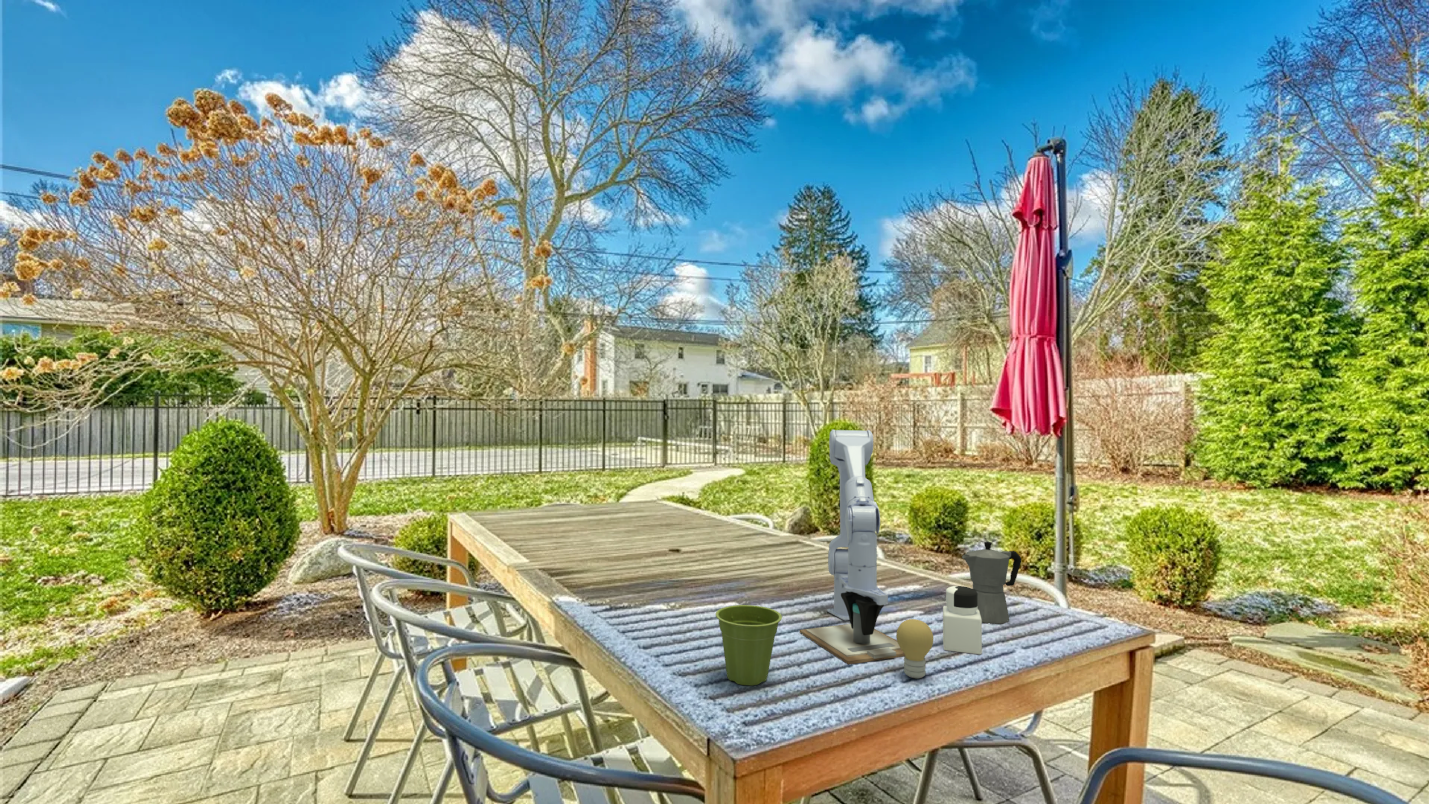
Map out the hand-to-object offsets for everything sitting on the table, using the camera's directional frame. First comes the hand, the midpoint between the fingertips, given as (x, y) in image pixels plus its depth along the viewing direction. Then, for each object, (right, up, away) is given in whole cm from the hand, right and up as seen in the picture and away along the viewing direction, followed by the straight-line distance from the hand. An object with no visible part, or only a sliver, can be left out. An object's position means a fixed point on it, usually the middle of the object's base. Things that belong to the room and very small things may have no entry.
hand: (862, 631), depth 128 cm
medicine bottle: (+21, -4, +1) cm, 21 cm away
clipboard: (-1, -3, +2) cm, 4 cm away
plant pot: (-24, -3, -17) cm, 29 cm away
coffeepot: (+36, -5, +20) cm, 41 cm away
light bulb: (+6, -3, -15) cm, 16 cm away
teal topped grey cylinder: (0, -2, 0) cm, 2 cm away
